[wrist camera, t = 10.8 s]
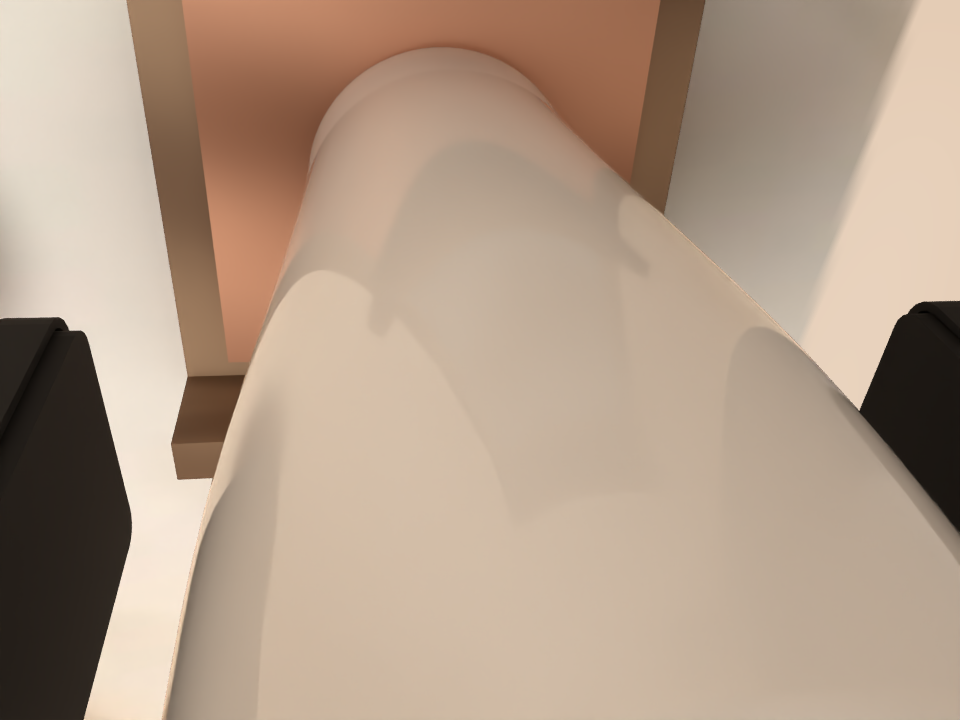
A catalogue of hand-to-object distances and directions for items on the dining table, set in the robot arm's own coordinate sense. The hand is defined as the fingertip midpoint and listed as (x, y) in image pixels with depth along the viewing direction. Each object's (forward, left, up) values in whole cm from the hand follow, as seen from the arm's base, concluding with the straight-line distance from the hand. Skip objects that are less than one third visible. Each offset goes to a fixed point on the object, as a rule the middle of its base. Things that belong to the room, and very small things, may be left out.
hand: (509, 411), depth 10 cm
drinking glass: (0, +1, -9) cm, 9 cm away
